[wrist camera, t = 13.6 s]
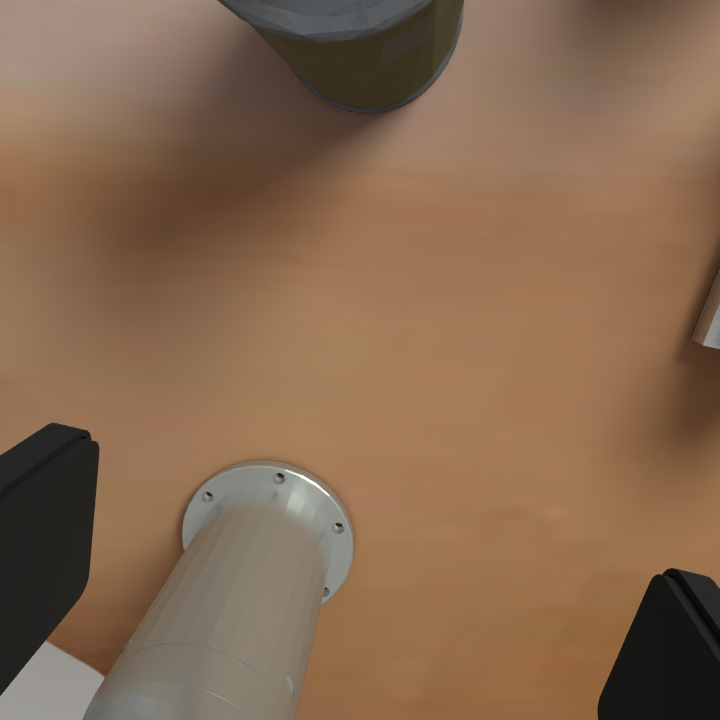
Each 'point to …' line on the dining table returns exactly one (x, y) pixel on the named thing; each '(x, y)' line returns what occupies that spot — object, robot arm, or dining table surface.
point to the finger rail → (710, 318)
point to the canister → (359, 45)
